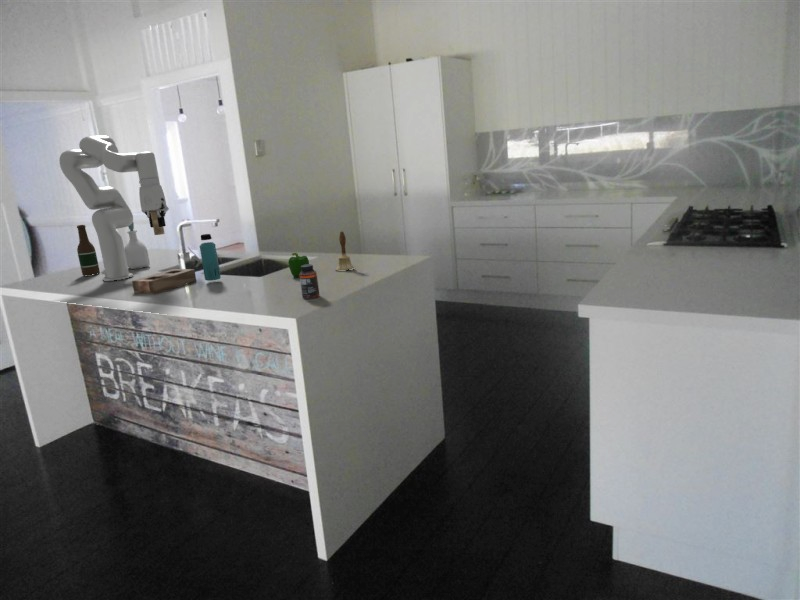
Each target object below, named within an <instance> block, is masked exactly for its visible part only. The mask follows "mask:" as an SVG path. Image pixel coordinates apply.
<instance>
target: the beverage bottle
mask: <svg viewBox="0 0 800 600" xmlns="http://www.w3.org/2000/svg"><path fill="white" fill-rule="evenodd" d="M200 240H201V241H205V242H202V243H201V244H200V245H199V251H200V257H201V263H202V270H203V273H204V275H203V276H204V279H205V281H211V282H212V281H216V280H220V279H221V270H220V269H221V268H220V264H219V257H218V252H217V248H216V244H215V243H214V242H213V241H208V240H213V237H212V235H211V233H204V234H201V235H200Z"/></svg>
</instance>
